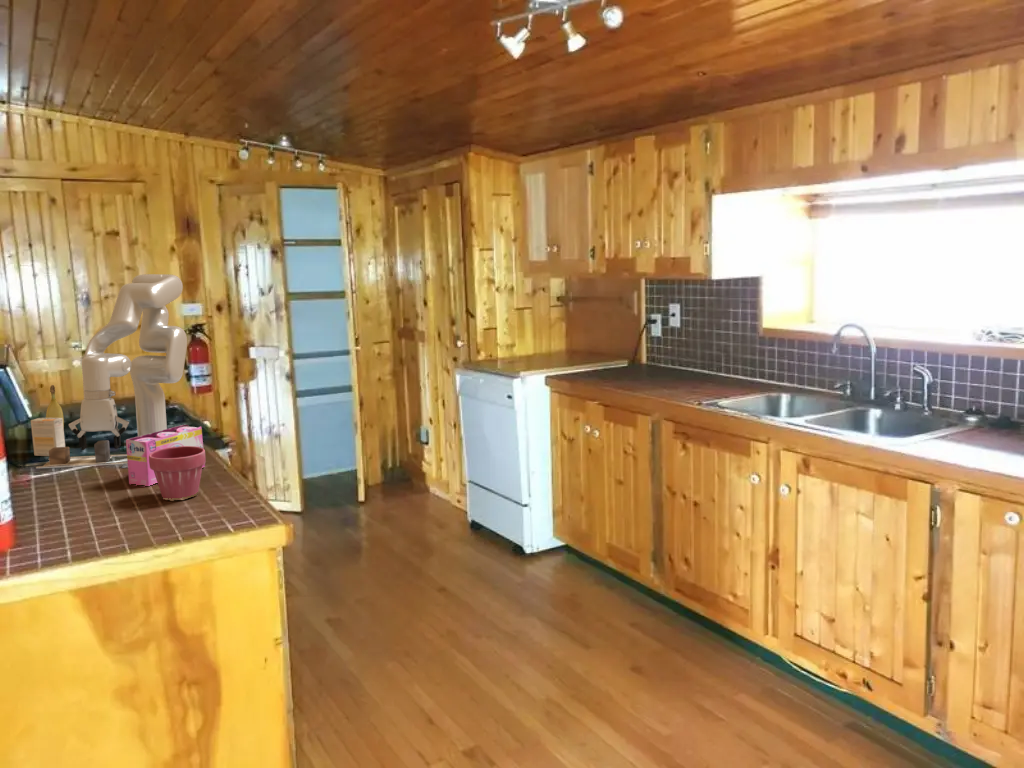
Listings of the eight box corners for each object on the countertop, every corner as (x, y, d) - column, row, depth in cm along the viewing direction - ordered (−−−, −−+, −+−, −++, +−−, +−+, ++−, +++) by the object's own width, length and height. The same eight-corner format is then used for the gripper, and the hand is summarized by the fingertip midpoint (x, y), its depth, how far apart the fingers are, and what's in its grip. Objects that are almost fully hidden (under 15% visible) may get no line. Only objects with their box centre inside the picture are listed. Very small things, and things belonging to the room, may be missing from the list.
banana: (58, 451, 270) (53, 393, 266) (39, 453, 267) (33, 394, 264) (67, 437, 290) (62, 383, 287) (48, 439, 288) (43, 384, 285)
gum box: (189, 465, 253) (186, 423, 251) (208, 467, 250) (206, 425, 248) (128, 484, 231) (124, 439, 229) (148, 487, 228) (145, 441, 226)
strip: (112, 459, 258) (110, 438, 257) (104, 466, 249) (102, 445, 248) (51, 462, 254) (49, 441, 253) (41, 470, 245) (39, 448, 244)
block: (70, 460, 253) (69, 446, 252) (65, 464, 249) (64, 450, 248) (54, 461, 252) (53, 447, 251) (49, 464, 248) (48, 450, 247)
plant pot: (147, 506, 211) (144, 459, 209) (156, 491, 224) (153, 447, 222) (204, 502, 214) (202, 456, 212) (209, 487, 228) (207, 444, 226)
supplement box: (66, 456, 263) (63, 417, 261) (57, 459, 259) (53, 420, 257) (43, 455, 264) (40, 417, 262) (33, 459, 260) (30, 419, 257)
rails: (149, 457, 262) (149, 453, 261) (140, 466, 250) (140, 462, 250) (49, 462, 255) (49, 457, 255) (36, 472, 244) (35, 467, 243)
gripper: (130, 393, 255) (132, 445, 257) (71, 394, 251) (74, 447, 253) (123, 396, 248) (126, 450, 250) (63, 397, 244) (66, 452, 246)
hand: (100, 448), depth 252 cm, fingers open, 9 cm apart
